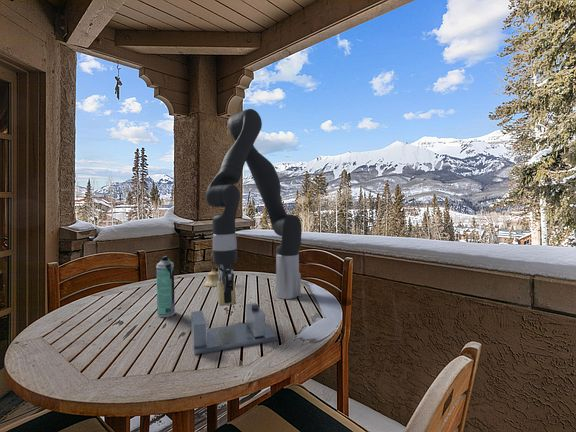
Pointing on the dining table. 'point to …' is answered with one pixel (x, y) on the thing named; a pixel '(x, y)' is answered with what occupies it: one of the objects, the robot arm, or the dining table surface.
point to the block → (221, 294)
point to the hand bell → (212, 275)
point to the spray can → (165, 288)
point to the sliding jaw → (255, 319)
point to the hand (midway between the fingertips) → (226, 300)
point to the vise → (223, 335)
